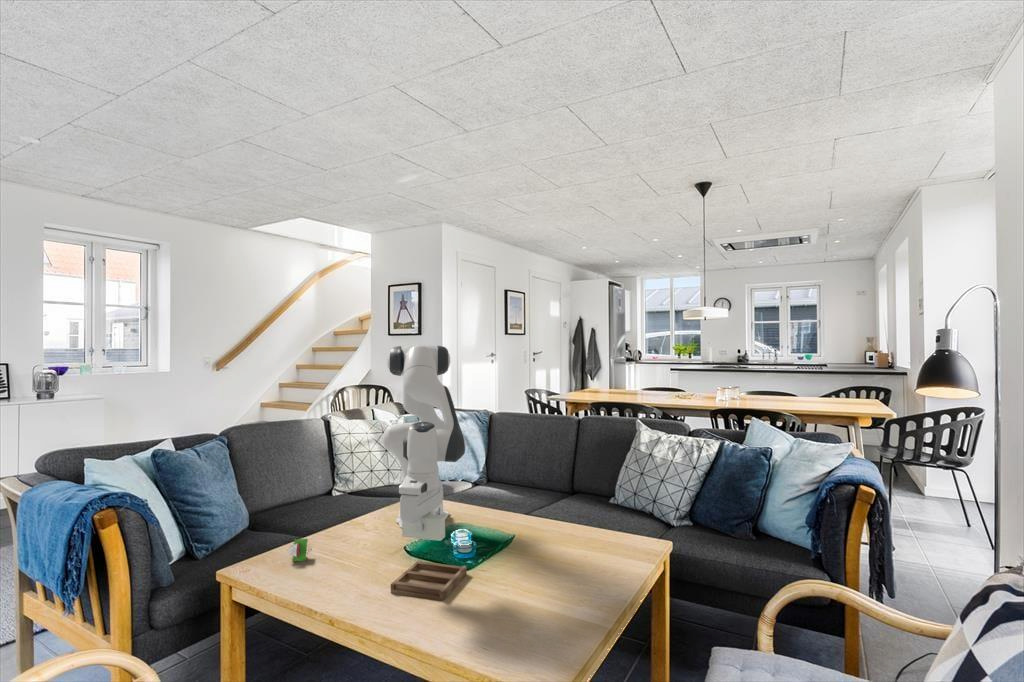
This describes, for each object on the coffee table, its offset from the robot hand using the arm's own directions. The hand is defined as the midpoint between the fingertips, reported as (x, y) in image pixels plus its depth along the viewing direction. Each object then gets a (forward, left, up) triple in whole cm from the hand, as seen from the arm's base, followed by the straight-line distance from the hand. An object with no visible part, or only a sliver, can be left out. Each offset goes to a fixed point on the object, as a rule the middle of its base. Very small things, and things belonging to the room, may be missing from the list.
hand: (423, 528), depth 155 cm
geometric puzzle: (-7, -48, -18) cm, 52 cm away
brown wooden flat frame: (-4, 0, -17) cm, 18 cm away
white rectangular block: (0, 0, -2) cm, 2 cm away
